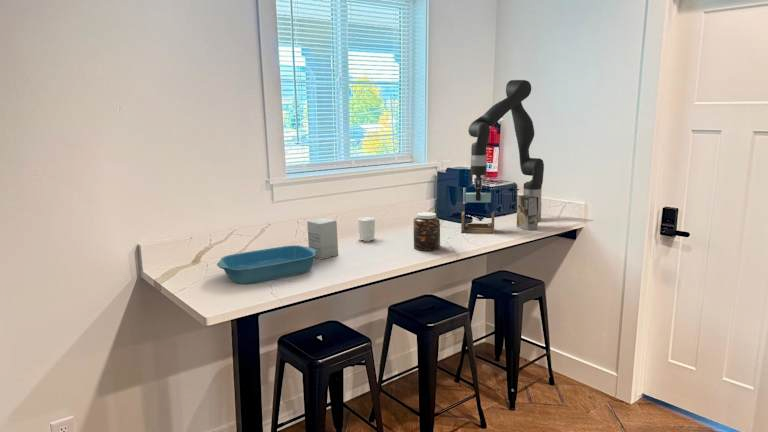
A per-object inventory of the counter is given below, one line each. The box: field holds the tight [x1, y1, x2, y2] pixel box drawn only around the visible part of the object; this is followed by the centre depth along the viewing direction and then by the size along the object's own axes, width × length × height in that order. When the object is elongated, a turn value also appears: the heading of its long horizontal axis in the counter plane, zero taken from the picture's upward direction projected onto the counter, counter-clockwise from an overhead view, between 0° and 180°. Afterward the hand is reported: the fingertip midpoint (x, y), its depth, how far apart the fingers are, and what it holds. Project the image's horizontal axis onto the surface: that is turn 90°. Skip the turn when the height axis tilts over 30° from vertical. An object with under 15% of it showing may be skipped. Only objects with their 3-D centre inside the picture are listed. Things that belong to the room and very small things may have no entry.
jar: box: [413, 211, 441, 252], centre depth 225 cm, size 12×12×15 cm
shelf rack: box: [460, 211, 495, 235], centre depth 255 cm, size 9×16×9 cm, turn 79°
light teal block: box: [465, 192, 492, 203], centre depth 252 cm, size 5×12×4 cm, turn 79°
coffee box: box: [516, 195, 539, 231], centre depth 259 cm, size 9×6×16 cm
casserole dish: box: [216, 245, 316, 285], centre depth 194 cm, size 37×22×7 cm, turn 121°
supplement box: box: [306, 217, 339, 260], centre depth 216 cm, size 9×9×15 cm
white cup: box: [357, 216, 376, 242], centre depth 243 cm, size 8×8×10 cm
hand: (478, 199), depth 252 cm, fingers closed on light teal block, 5 cm apart
